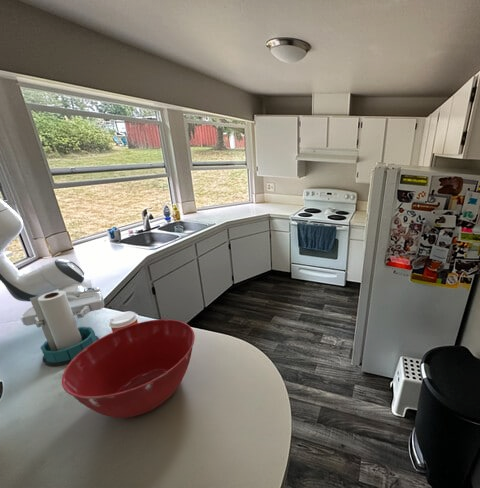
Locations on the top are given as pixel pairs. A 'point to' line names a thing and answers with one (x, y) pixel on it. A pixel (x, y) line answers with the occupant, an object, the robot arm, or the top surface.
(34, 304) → the paper towel roll
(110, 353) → the mixing bowl
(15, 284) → the robot arm
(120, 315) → the paper cup
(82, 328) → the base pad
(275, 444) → the top surface
